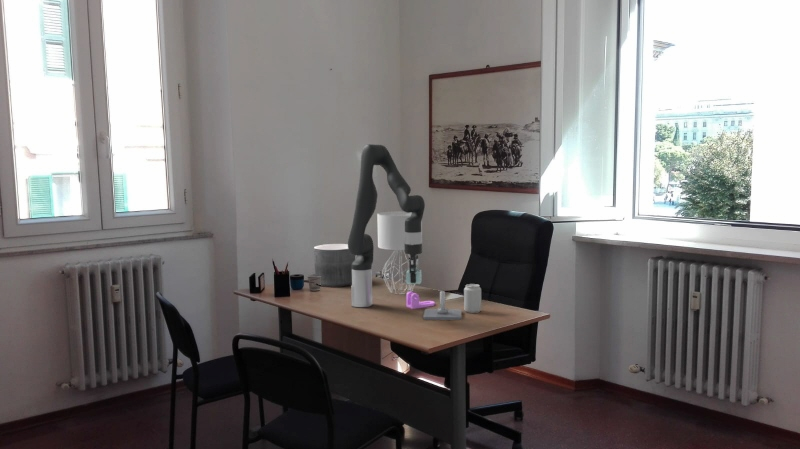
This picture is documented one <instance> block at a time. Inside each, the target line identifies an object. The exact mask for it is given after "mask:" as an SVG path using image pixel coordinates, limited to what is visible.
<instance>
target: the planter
mask: <svg viewBox="0 0 800 449" xmlns="http://www.w3.org/2000/svg"><path fill="white" fill-rule="evenodd" d="M313 252H314V253H313V254H314V258H313V259H314V276H315V275H320V276H321V286H320V287H326V288H340V287H347V286H352V263H353V262H354V261H355V260H356V255H352V254H351V253H350V252H349V250H348V243H346V244H345V243H330V244H329V243H328V244H321V245H315V246H314V247H313Z"/></svg>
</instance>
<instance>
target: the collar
mask: <svg viewBox="0 0 800 449" xmlns="http://www.w3.org/2000/svg"><path fill="white" fill-rule="evenodd" d="M409 271H410V270H409V269H406V272H405V276H406V277H405V280H406V282H405V284H407V285H409V284H410V285H414V284H415V285H421V284H422V282H423V280H422V269H418V270H416V283H411V277H410V273H409ZM411 271H414V270H411Z"/></svg>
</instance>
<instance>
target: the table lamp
mask: <svg viewBox="0 0 800 449" xmlns="http://www.w3.org/2000/svg"><path fill="white" fill-rule="evenodd" d="M411 214H412V212H410V213H407V212H404V211H403V210H402V211H398V210H397V211H384V212H378V213H376V215H377V247H378V248H379V249H383V250H389V251H390V250H391V251H393V252H392V253H391V255H390V256H389V258H388V259H387V261H386V262H385V263H384V265H383V268H382V271H381V276H382V278H383V281H384V282H385V285H386V287H387V288H388V292H389V293H391V294H394V295H395V294H396V295H397V290H396V289H398V291H400V290H402V289H403V286H404V285H405V284H406V279H404V278H403V277H400V278H399V280H397V281H395V280H394V278H395V277H396V276H398V274H399V275H402V276H404V277H405V278H406V274H404V272H405V271H407V270H409V259H408V258H409V257H410V254H405V245H404V236H405V220H406V219H407V218H409V217H410V216H411ZM421 234H422V235H423V220H422V221H421ZM399 251H403V253H404V257H405V260H406V261H405V262H404V263H402V262H403V261H402V259H403V258H402V257H400V258H399V260H398V261H399V264H396V260H397V259H395V258H397V257H398V254H399ZM406 255H408V258H407V256H406ZM406 263H407V268H405V270H402V271H401V267H403V265H404V264H406ZM390 264H391V265H390ZM395 265H396V266H398V267H399V269H398V268H397V267H396V266H395ZM389 266H390V268H389V269H388V267H389ZM392 268H393V269H392ZM394 268H395V269H396V270H397V271H398V272H397V273H396V274H395V275H394V272H392V271H394ZM389 270H390V275H391V276H389V275H388V274H387V273H386V272H388V271H389ZM418 270H420V269H419V267H418ZM383 275H384V276H383ZM389 278H390V279H391V280H390V279H389ZM402 280H404V283H402V286H400V285H398V284H397V283H399V281H402ZM389 282H390V283H391V284H392V285H391V286H390V284H389ZM415 286H416V284H412V285H411V284H406V285H405V288H404V289H403V290H402V292H400V295H405V294H406V295H407V293H408V292H409V291H411V292H413V291H414V288H415ZM406 289H407V291H406ZM394 291H395V292H394ZM405 291H406V293H405Z"/></svg>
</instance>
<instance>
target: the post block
mask: <svg viewBox="0 0 800 449" xmlns="http://www.w3.org/2000/svg"><path fill="white" fill-rule="evenodd" d="M422 316H423V317H422V320H426V321H427V320H428V321H430V320H433V321H434V320H435V321H436V320H437V321H462V309H461V308H460V309H459V308H447V307H446V291H444V290H443V291H442V290H441V291H439V307H437V308H425V309H424V312H423V315H422Z"/></svg>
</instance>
